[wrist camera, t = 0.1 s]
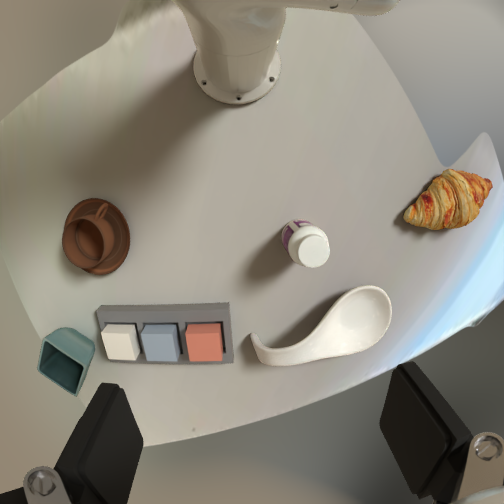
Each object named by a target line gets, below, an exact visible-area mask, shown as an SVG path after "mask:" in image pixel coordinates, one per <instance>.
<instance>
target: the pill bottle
mask: <svg viewBox="0 0 504 504" xmlns="http://www.w3.org/2000/svg"><path fill="white" fill-rule="evenodd" d="M282 243H283V245H284V247H285V249H286V250H287V252H288V254H289V255H290V257H291V258H292V260H293V261H295V262H296V263H297V264H299V265H301V266H307V267H310V268H316V267H319V266H321V265H323V264H324V263H325V262H326V261H327V259H328V257H329V253H330V248H329V243H328V239H327V237H326V235H325V233H324V232H323V231H322V230H321V229H319V228H318V227H316V226H315V225H313V224H312V223H310V222H309V221H307V220H303V219H296V220H293V221H291V222H289V223H288V224H287V225H286V226H285V227H284V229H283V231H282Z"/></svg>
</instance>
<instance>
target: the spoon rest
mask: <svg viewBox="0 0 504 504" xmlns="http://www.w3.org/2000/svg"><path fill="white" fill-rule="evenodd" d="M391 316H392V308H391V302H390V299H389V297H388V295H387V294H386V293H385V291H384V290H382V289H381V288H379V287H376V286H371V285H365V286H359V287H356V288H353V289H351V290H349V291H347V292H346V293H344V294H343V295H342V296H341V297H340V298H339V299H338V300H337V301H336V302H335V303H334V304H333V305H332V306H331V308H330V309H329V310H328V312H327V313H326V314H325V316H324V317H323V318H322V320H321V321H320V322H319V324H318V325H317V326H316V327H315V328H314V330H313V331H312V332H311V333H310V334H309V335H308V336H307V337H306V338H304V339H303V340H302V341H300V342H298V343H296V344H294V345H291V346H288V347H283V348H269V347H266V346H264V345H263V344H262V343H261V342H260V340H259V338H258V336H257V335H256V334H255V333H251V334H250V337H251V341H252V343H253V346H254V349H255V351H256V354H257V357H258V359H259V360H260V362H262V363H263V364H265V365H269V366H290V365H297V364H302V363H306V362H310V361H314V360H319V359H324V358H330V357H337V356H344V355H349V354H353V353H358V352H361V351H363V350H365V349H368V348H369V347H371V346H372V345H374V344H375V343H376V342H378V341H379V340H380V339H381V338H382V336H383V335H384V334H385V332H386V331H387V329H388V327H389V324H390V321H391Z"/></svg>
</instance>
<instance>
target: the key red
mask: <svg viewBox="0 0 504 504" xmlns="http://www.w3.org/2000/svg"><path fill="white" fill-rule="evenodd" d="M185 335H186V341H187V348H188V353H189V359H190V361H222V357H223V346H222V336H221V327H220V323H219V324H188V327H187V330H186V333H185Z"/></svg>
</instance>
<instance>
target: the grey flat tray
mask: <svg viewBox="0 0 504 504" xmlns="http://www.w3.org/2000/svg"><path fill="white" fill-rule="evenodd" d="M96 313H97V317H98V321H99V325H100V328H101V332H102V331H103V330H104V328H105V327H106V326H107V324H116V325H135V329H136V334H137V338H138V342H139V346H140V353H139V355H138V357H137V359H136V360H116V359H109V360H110V362H124V363H147V364H224V363H233V359H234V354H233V343H232V331H231V319H230V307H229V302H228V303H205V304H173V305H101V306H100V307H99V309H98V310H97V311H96ZM219 323H220V327H221V336H222V346H223V357H222V361H190V359H189V353H188V348H187V341H186V335H185V333H186V330H187V327H188V324H219ZM146 325H176V329H177V335H178V341H179V346H180V354H179V358H178V361H147V358H146V354H145V350H144V346H143V342H142V337H141V333H142V331H143V329H144V327H145V326H146Z"/></svg>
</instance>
